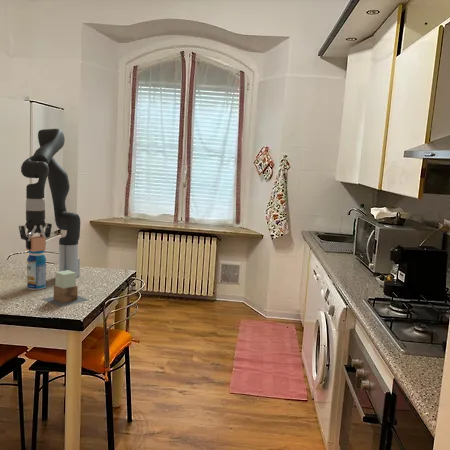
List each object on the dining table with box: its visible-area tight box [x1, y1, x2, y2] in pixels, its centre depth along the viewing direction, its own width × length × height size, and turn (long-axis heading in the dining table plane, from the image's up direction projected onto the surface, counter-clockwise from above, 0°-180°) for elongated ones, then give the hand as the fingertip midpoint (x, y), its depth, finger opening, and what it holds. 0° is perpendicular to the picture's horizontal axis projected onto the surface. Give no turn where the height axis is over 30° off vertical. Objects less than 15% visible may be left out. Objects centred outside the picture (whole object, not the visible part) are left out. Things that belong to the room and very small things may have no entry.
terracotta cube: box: [25, 235, 46, 252], centre depth 196 cm, size 6×6×6 cm
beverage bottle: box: [26, 250, 47, 291], centre depth 214 cm, size 8×8×20 cm
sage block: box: [54, 270, 77, 289], centre depth 198 cm, size 6×6×6 cm
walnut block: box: [53, 285, 78, 303], centre depth 199 cm, size 7×7×6 cm
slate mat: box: [42, 295, 89, 308], centre depth 200 cm, size 14×14×1 cm
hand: (35, 248), depth 196 cm, fingers closed on terracotta cube, 5 cm apart
